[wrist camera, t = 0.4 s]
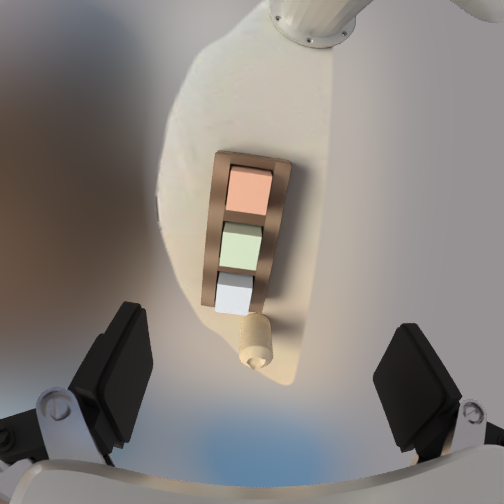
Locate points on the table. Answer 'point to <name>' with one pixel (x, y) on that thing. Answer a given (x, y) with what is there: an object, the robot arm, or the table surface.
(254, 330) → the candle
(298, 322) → the table surface
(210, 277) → the button panel
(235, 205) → the terracotta button
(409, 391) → the robot arm
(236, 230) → the sage button
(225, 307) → the greyblue button
